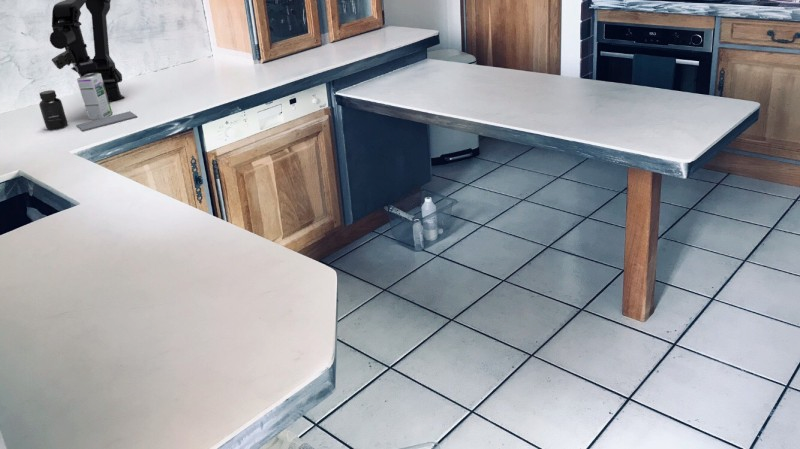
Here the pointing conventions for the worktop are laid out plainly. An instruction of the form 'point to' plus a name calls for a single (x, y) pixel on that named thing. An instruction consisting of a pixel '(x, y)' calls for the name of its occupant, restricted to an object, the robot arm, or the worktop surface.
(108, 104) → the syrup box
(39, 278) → the worktop surface
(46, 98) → the supplement bottle
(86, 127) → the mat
